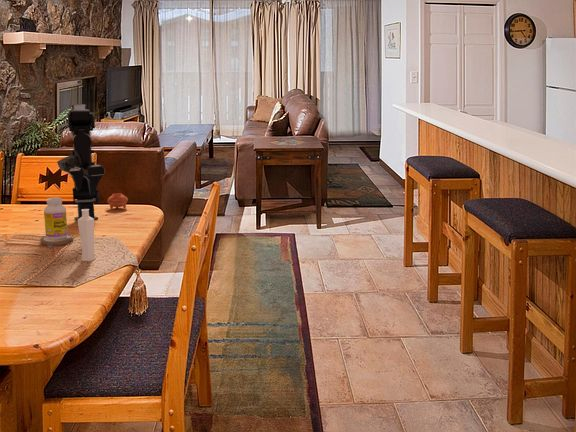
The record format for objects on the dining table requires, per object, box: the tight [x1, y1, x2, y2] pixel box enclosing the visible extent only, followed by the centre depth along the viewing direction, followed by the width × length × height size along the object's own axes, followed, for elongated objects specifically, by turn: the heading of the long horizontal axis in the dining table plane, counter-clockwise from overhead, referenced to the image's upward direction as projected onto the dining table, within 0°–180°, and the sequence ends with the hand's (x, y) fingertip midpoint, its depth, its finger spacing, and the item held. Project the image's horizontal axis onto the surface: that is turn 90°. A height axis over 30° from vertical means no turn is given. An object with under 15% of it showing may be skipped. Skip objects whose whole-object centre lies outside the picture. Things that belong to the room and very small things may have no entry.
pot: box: [106, 192, 129, 210], centre depth 255 cm, size 8×8×7 cm
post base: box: [39, 234, 74, 249], centre depth 207 cm, size 13×10×1 cm
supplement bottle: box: [43, 196, 68, 240], centre depth 206 cm, size 7×7×13 cm
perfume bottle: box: [77, 209, 96, 262], centre depth 188 cm, size 5×4×15 cm
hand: (85, 192), depth 220 cm, fingers open, 9 cm apart
